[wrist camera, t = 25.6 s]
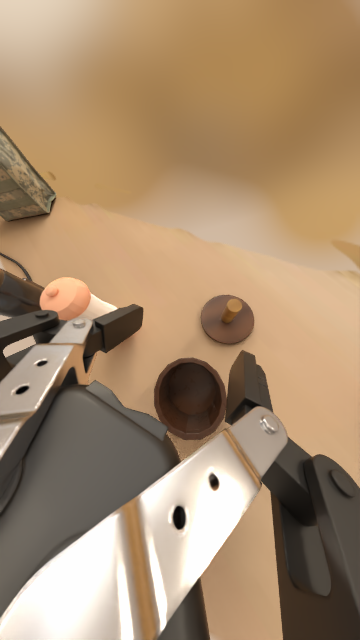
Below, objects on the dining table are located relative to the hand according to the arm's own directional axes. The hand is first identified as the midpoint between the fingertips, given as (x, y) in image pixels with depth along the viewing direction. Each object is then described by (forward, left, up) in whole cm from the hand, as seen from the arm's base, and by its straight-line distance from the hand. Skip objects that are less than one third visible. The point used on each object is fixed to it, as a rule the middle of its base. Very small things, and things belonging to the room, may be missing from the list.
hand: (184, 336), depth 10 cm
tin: (+6, -4, -23) cm, 24 cm away
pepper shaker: (-15, -14, -23) cm, 31 cm away
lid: (-4, +12, -22) cm, 25 cm away
